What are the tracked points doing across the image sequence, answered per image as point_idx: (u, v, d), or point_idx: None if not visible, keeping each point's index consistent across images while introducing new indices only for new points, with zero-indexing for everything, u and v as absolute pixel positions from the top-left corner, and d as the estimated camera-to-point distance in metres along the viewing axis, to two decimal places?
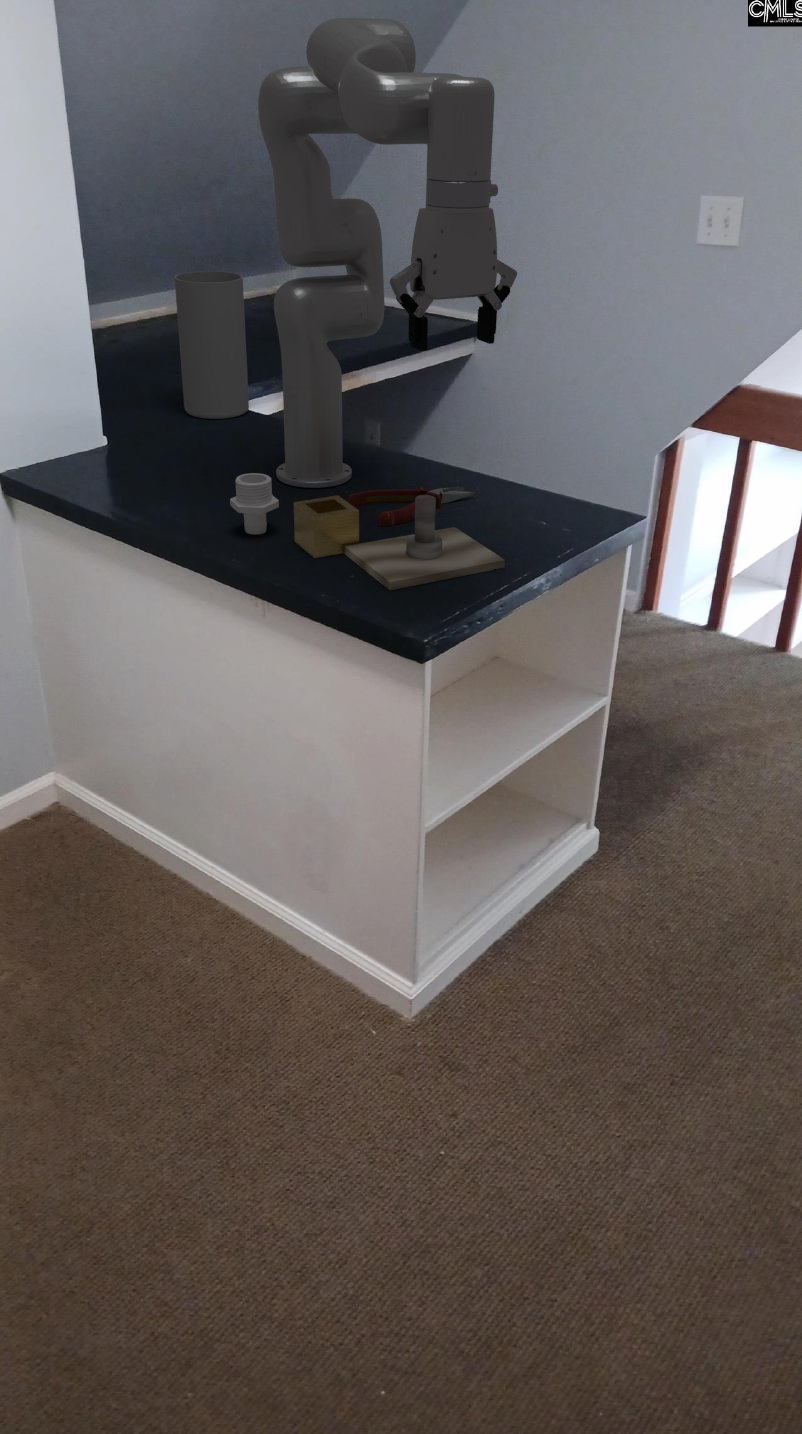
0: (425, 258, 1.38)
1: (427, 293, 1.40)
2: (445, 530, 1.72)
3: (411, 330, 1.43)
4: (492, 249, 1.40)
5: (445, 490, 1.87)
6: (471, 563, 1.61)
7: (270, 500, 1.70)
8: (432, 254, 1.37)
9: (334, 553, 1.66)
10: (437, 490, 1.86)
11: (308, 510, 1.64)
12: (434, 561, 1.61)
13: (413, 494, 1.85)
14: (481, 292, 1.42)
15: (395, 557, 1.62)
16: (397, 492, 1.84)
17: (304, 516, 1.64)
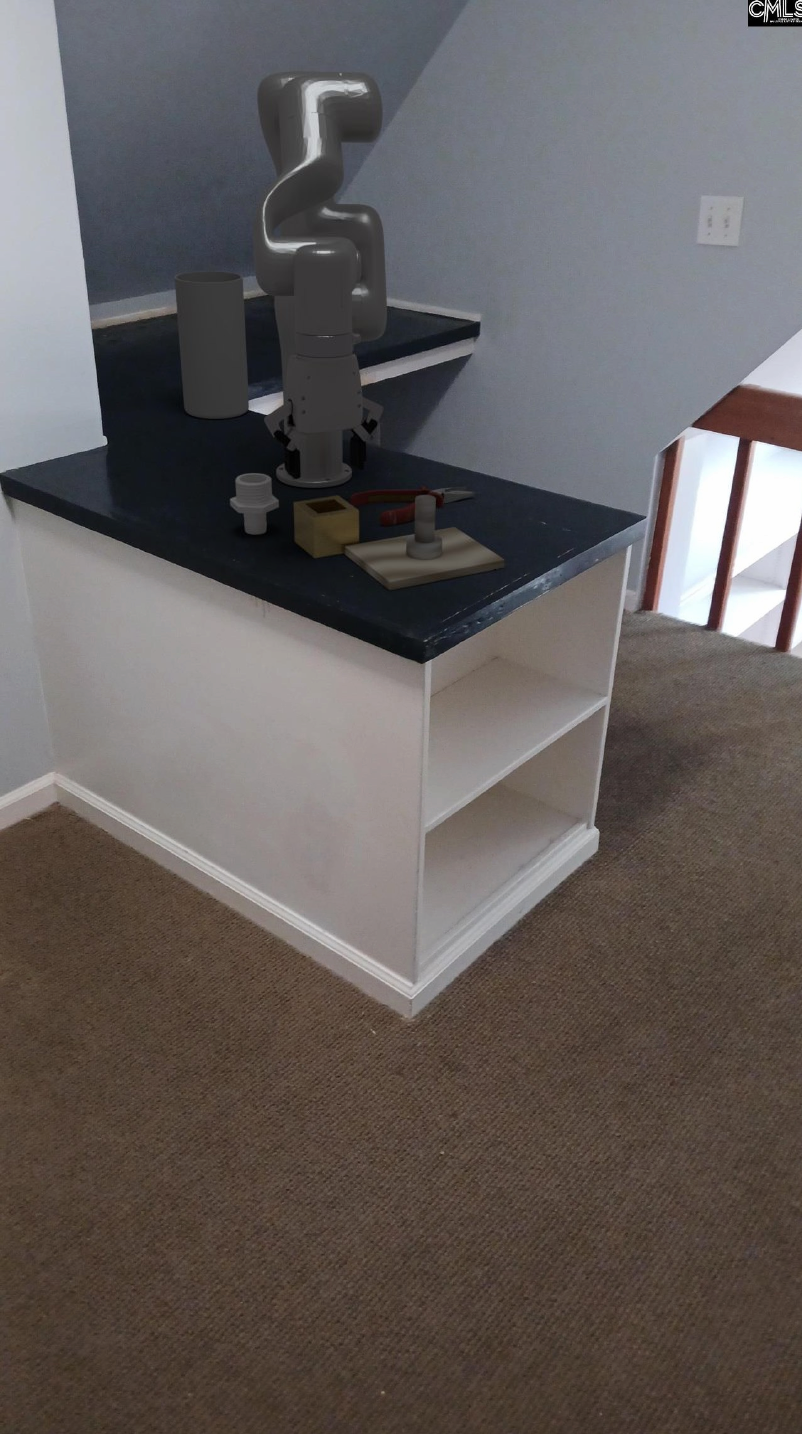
0: (294, 400, 1.55)
1: (298, 430, 1.56)
2: (445, 530, 1.72)
3: (286, 461, 1.59)
4: (357, 390, 1.57)
5: (447, 490, 1.87)
6: (471, 563, 1.61)
7: (270, 500, 1.70)
8: (300, 397, 1.54)
9: (334, 553, 1.66)
10: (439, 490, 1.86)
11: (308, 510, 1.64)
12: (434, 561, 1.61)
13: (415, 494, 1.85)
14: (349, 427, 1.59)
15: (395, 557, 1.62)
16: (399, 492, 1.85)
17: (304, 516, 1.64)
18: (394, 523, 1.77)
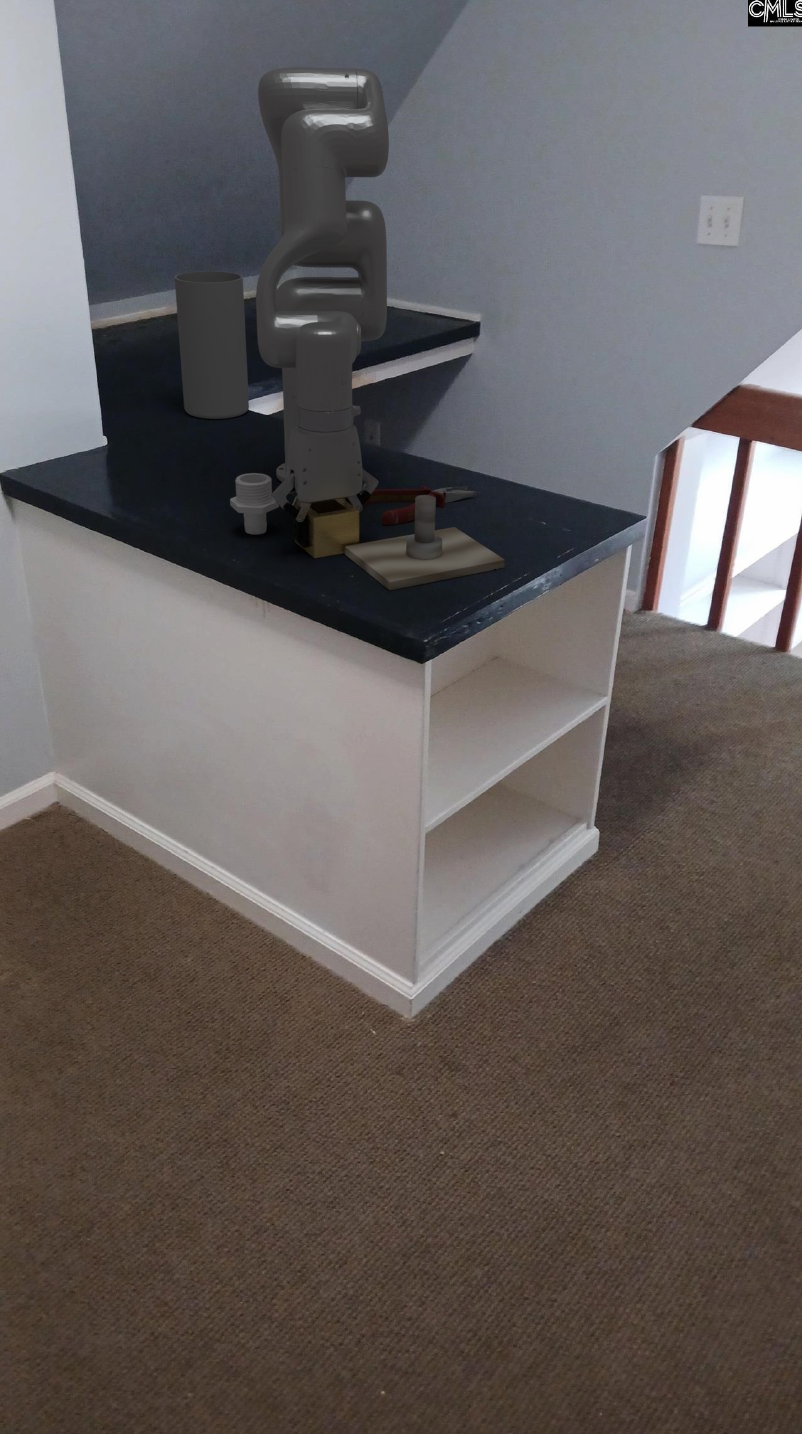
0: (296, 471, 1.60)
1: (299, 499, 1.62)
2: (445, 530, 1.72)
3: (295, 530, 1.65)
4: (357, 460, 1.62)
5: (449, 489, 1.87)
6: (471, 563, 1.61)
7: (270, 500, 1.70)
8: (302, 468, 1.59)
9: (334, 553, 1.66)
10: (441, 489, 1.86)
11: (308, 510, 1.64)
12: (434, 561, 1.61)
13: (417, 493, 1.85)
14: (349, 495, 1.64)
15: (395, 557, 1.62)
16: (401, 491, 1.85)
17: None
18: (396, 522, 1.77)
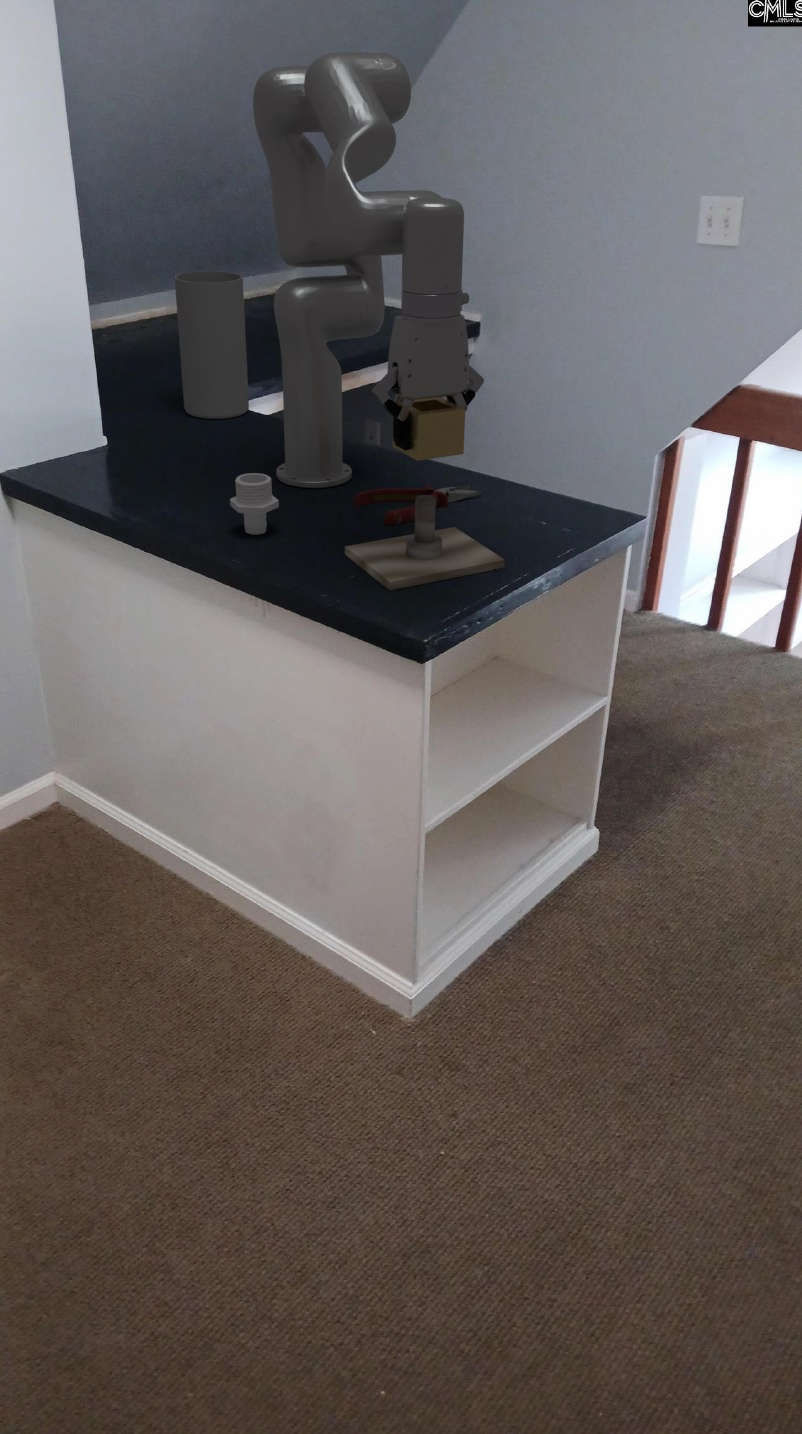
0: (400, 363, 1.48)
1: (403, 394, 1.49)
2: (445, 530, 1.72)
3: (395, 431, 1.53)
4: (464, 353, 1.50)
5: (452, 489, 1.87)
6: (471, 563, 1.61)
7: (270, 500, 1.70)
8: (407, 360, 1.47)
9: (438, 456, 1.53)
10: (444, 489, 1.87)
11: None
12: (434, 561, 1.61)
13: (420, 493, 1.85)
14: (454, 392, 1.52)
15: (395, 557, 1.62)
16: (404, 491, 1.85)
17: None
18: (399, 522, 1.77)
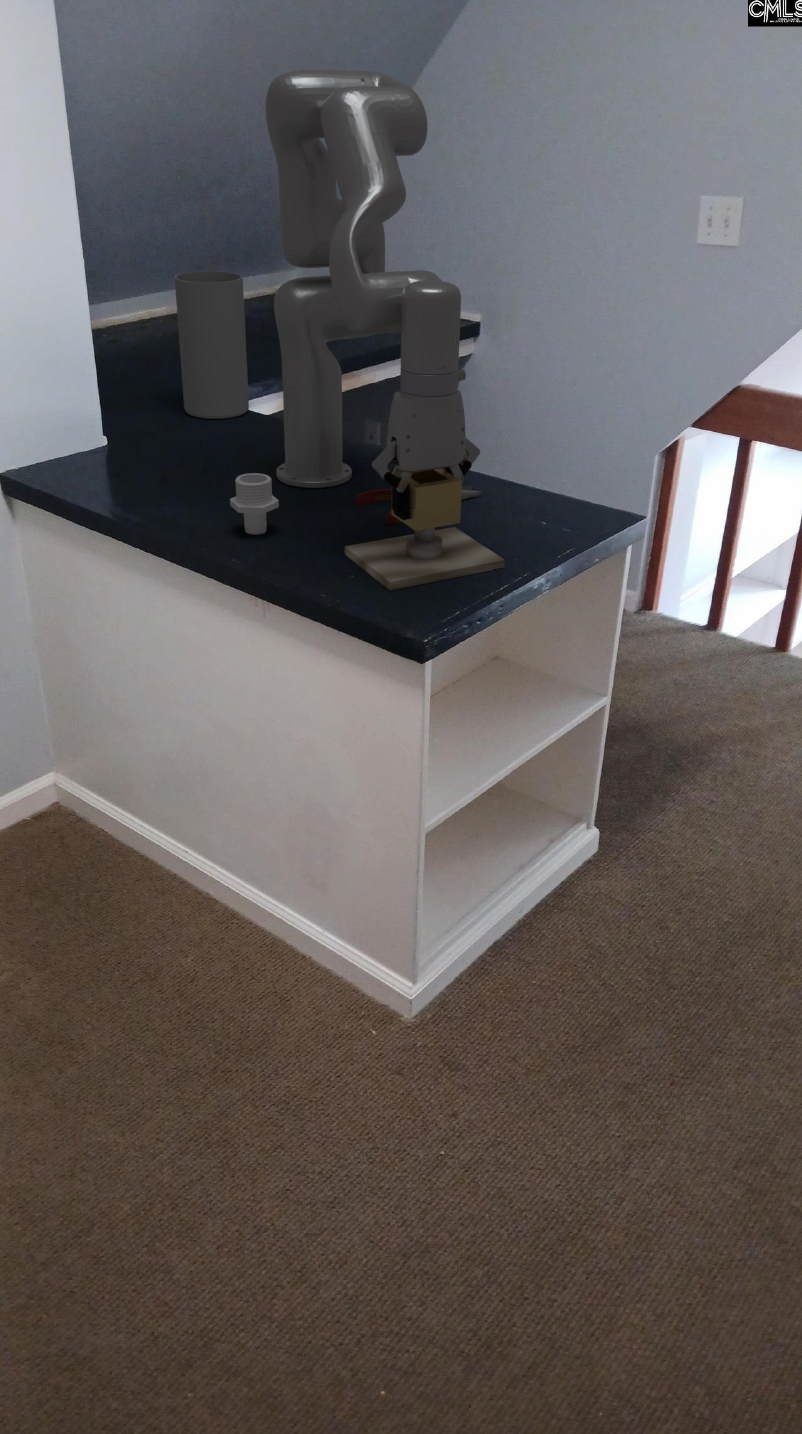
0: (399, 438, 1.52)
1: (401, 468, 1.54)
2: (445, 530, 1.72)
3: (394, 502, 1.58)
4: (460, 427, 1.55)
5: None
6: (471, 563, 1.61)
7: (270, 500, 1.70)
8: (406, 435, 1.52)
9: (435, 526, 1.58)
10: None
11: (409, 480, 1.57)
12: (434, 561, 1.61)
13: None
14: (451, 464, 1.57)
15: (395, 557, 1.62)
16: None
17: None
18: (400, 522, 1.77)
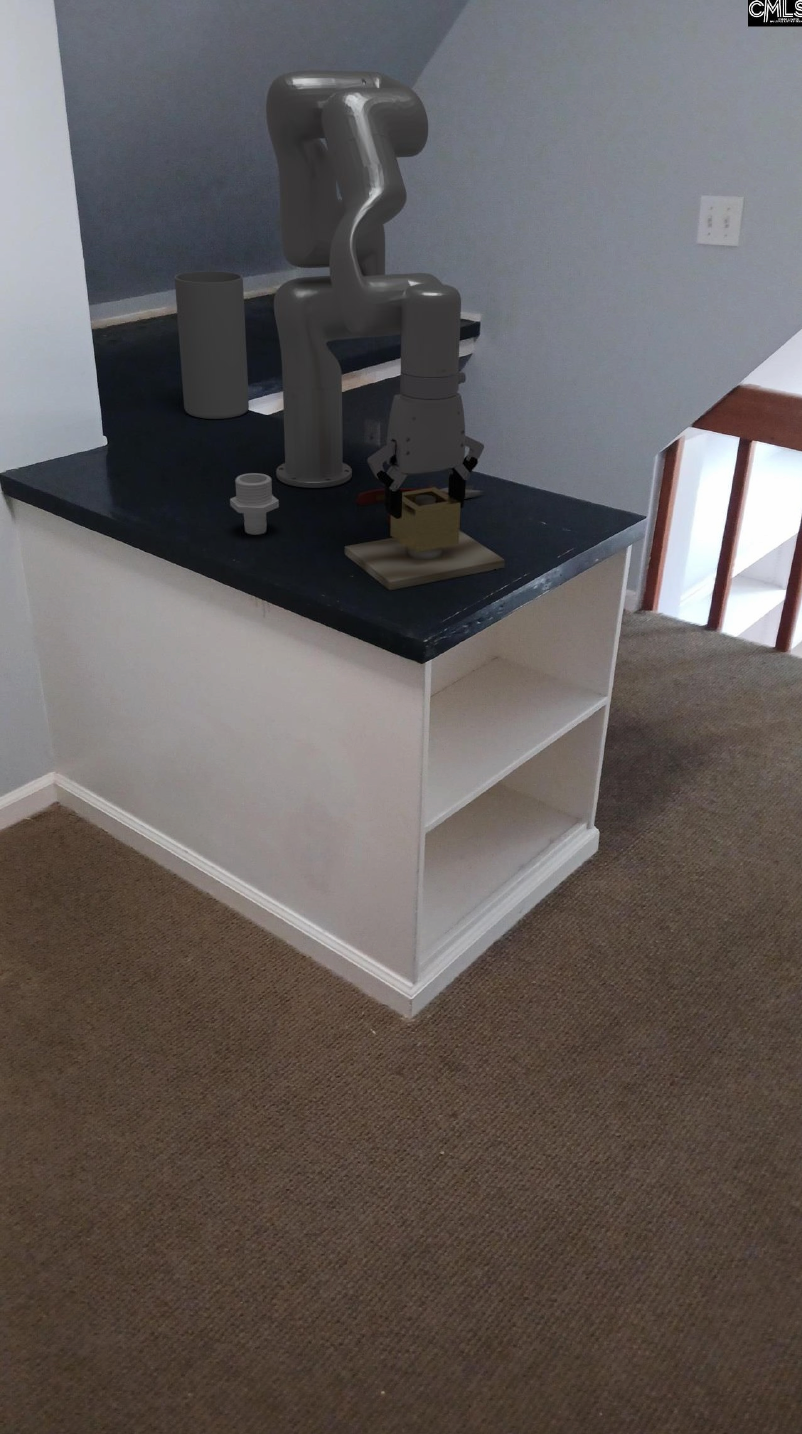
0: (399, 441, 1.53)
1: (401, 470, 1.54)
2: None
3: (387, 500, 1.57)
4: (460, 430, 1.55)
5: None
6: (471, 563, 1.61)
7: (270, 500, 1.70)
8: (405, 438, 1.52)
9: (434, 547, 1.60)
10: (447, 489, 1.87)
11: (408, 502, 1.58)
12: (434, 561, 1.61)
13: None
14: (451, 466, 1.57)
15: (395, 557, 1.62)
16: (407, 490, 1.85)
17: (404, 508, 1.59)
18: None
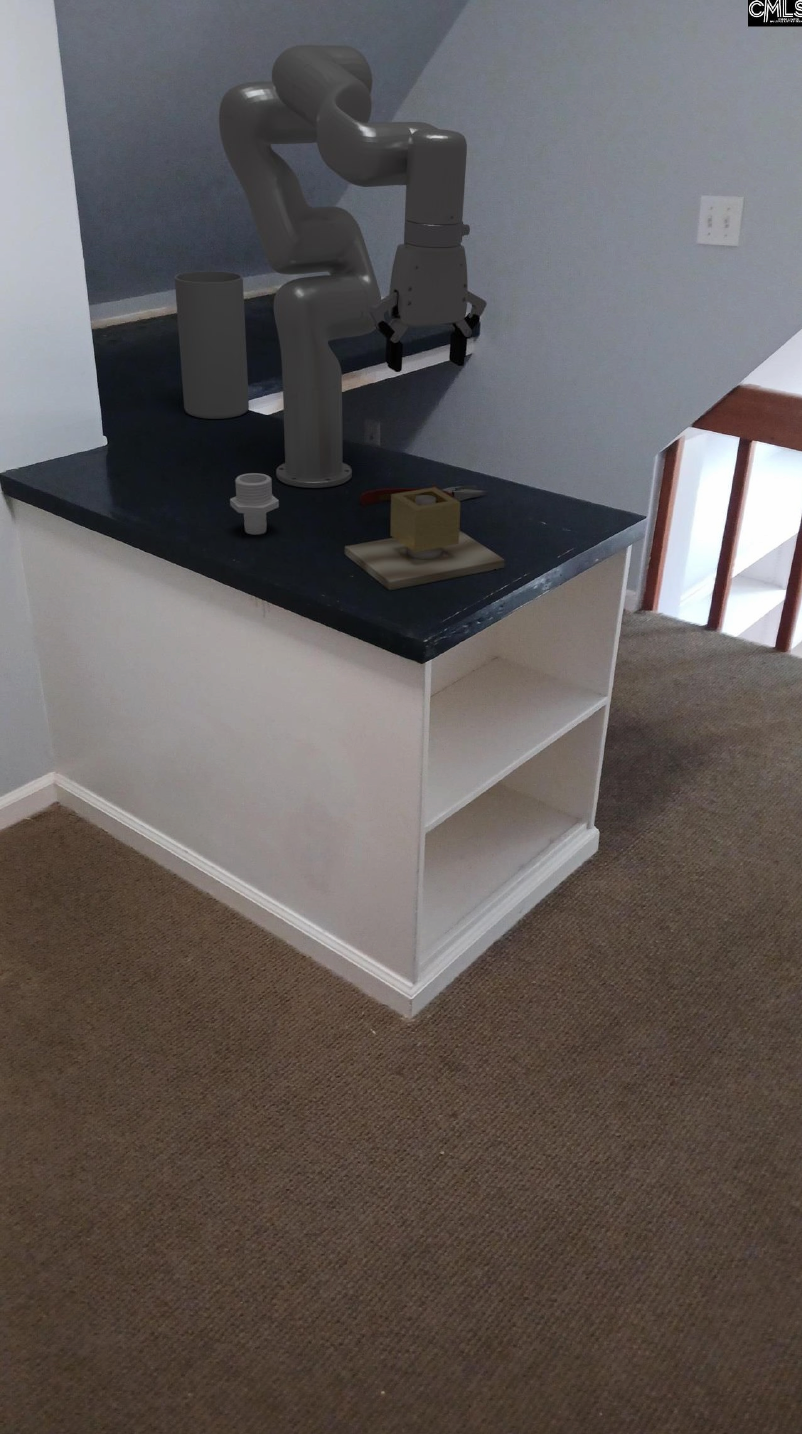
0: (401, 291, 1.54)
1: (402, 321, 1.55)
2: None
3: (388, 353, 1.59)
4: (463, 283, 1.56)
5: (457, 489, 1.88)
6: (471, 563, 1.61)
7: (270, 500, 1.70)
8: (407, 287, 1.53)
9: (434, 547, 1.60)
10: (449, 489, 1.87)
11: (408, 502, 1.58)
12: (434, 561, 1.61)
13: None
14: (452, 321, 1.58)
15: (395, 557, 1.62)
16: (409, 490, 1.85)
17: (404, 508, 1.59)
18: None
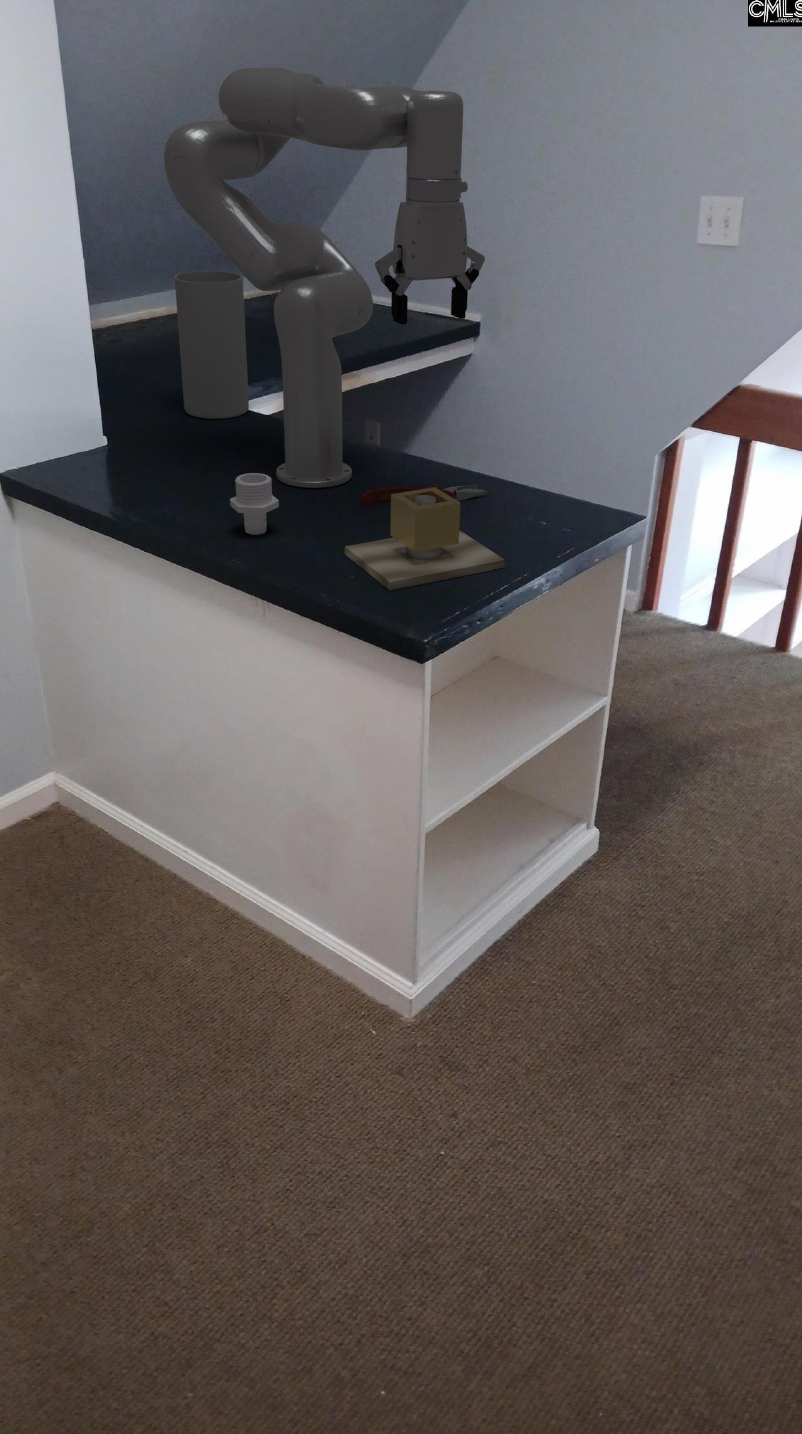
0: (404, 245, 1.62)
1: (407, 275, 1.64)
2: None
3: (393, 306, 1.67)
4: (462, 237, 1.64)
5: (459, 488, 1.88)
6: (471, 563, 1.61)
7: (270, 500, 1.70)
8: (411, 241, 1.61)
9: (434, 547, 1.60)
10: (451, 488, 1.87)
11: (408, 502, 1.58)
12: (434, 561, 1.61)
13: None
14: (454, 274, 1.67)
15: (395, 557, 1.62)
16: (411, 490, 1.85)
17: (404, 508, 1.59)
18: None
